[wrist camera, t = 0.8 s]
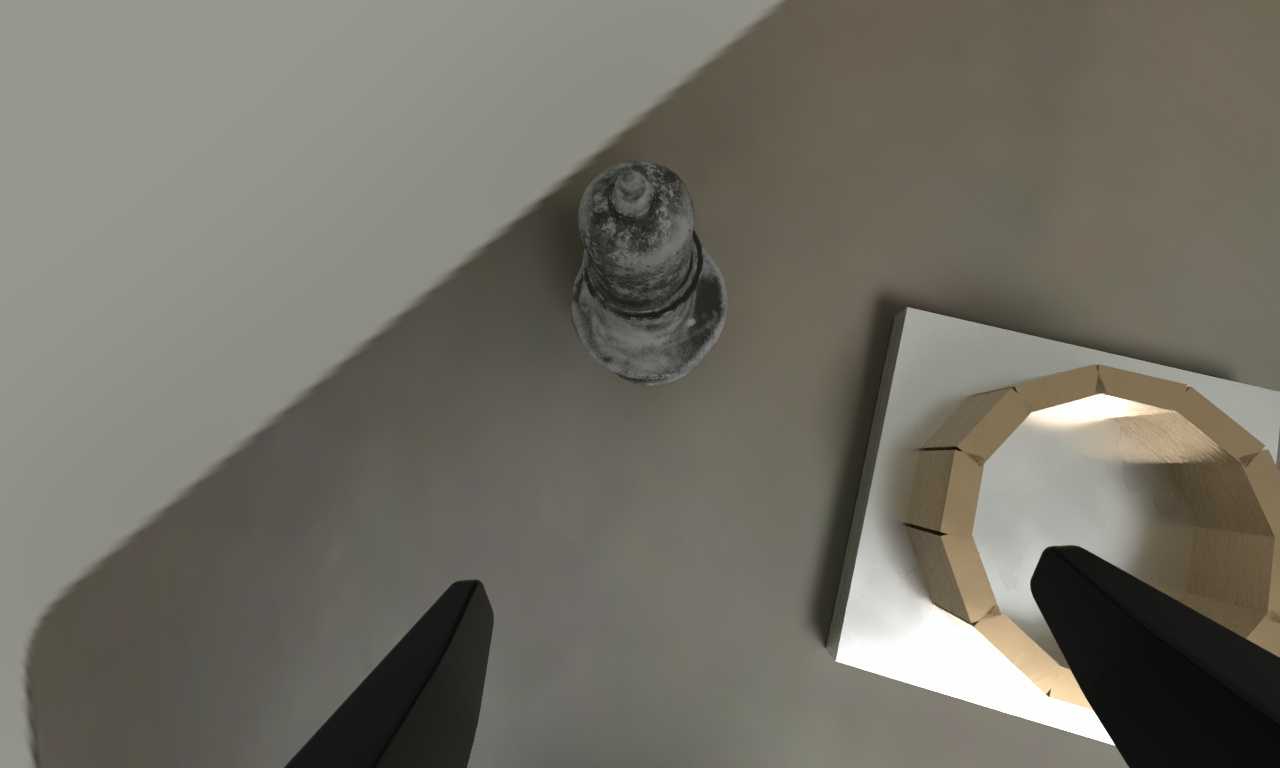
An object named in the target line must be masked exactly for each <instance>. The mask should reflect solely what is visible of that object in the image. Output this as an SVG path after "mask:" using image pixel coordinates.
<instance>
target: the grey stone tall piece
mask: <svg viewBox="0 0 1280 768" xmlns="http://www.w3.org/2000/svg"><path fill="white" fill-rule="evenodd" d="M694 217H695V215H694V208H693V202H692V199H691V196H690V194H689V192H688V190H687V188H686V185H685V184H684V182H683V181H682V180H681V179H680V178H679V177H678V175H677V174H676V173H674V172H673V171H671V170H670V169H668V168H667V167H665V166H663V165H660V164H657V163H655V162H652V161H642V160H633V161H627V162H621V163H619V164H616V165H614V166H612V167H609V168H607V169H606V170H604V171H603V172H602V173H600V174H599V175H598V176H596V177H595V178H594V180H593V181H592V182H591V183H590V184H589V186H588V187H587V188H586V190H585V192H584V194H583V196H582V199H581V201H580V206H579V212H578V228H579V235H580V237H581V240H582V242H583V245H584V247H585V249H584V255H583V261H582V266H581V268H580V270H579V273H578V275H577V277H576V279H575V281H574V284H573V290H572V296H571V302H570V304H571V313H572V323H573V325H574V328H575V330H576V333H577V335H578V338H579V340H580V342H581V343H582V345H583V346H584V347H585V348H586V350H587V351H588V352H589V354H590V355H591V356H592V358H594V359H595V360H596V361H598V362H599V363H600V364H602V365H603V366H604V367H605V368H607V369H608V370H610V371H613V372H615V373H616V374H617V375H619V376H620V377H621V378H623V379H626V380H628V381H631V382H633V383H636V384H642V385H650V386H654V385H661V384H668V383H670V382H673V381H675V380H678V379H680V378H682V377H684V376H685V375H686V374H688V373H689V372H690V371H692V370H693V369H694V368H695V367H696V366H697V365H698V363H699V362H700V361H701V359H703V358H704V357H705V356H706V355H707V353H708V352H709V351H710V350H711V348H712V347H713V346H714V344H715V343H716V342H717V341H718V338H719V336H720V333H721V331H722V328H723V326H724V323H725V321H726V313H727V304H728V298H727V292H726V286H725V280H724V278H723V276H722V274H721V272H720V270H719V267H718V265H717V263H716V262H715V261H714V259H713V258H712V257H711V256H710V255H709V254H708V252H707V251H706V250H705V249H704V248H703V247H702V246H701V243H700V241H699V239H698V237H697V235H696V232H695V231H694V230H693V227H694Z"/></svg>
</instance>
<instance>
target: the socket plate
mask: <svg viewBox="0 0 1280 768" xmlns="http://www.w3.org/2000/svg"><path fill="white" fill-rule="evenodd" d="M1279 430H1280V392H1278V391H1273V390H1269V389H1264V388H1260V387H1256V386H1251V385H1247V384H1243V383H1238V382H1234V381H1229V380H1225V379H1221V378H1216V377H1212V376H1207V375H1203V374H1199V373H1194V372H1190V371H1185V370H1181V369H1177V368H1172V367H1168V366H1164V365H1159V364H1155V363H1150V362H1146V361H1142V360H1137V359H1133V358H1128V357H1124V356H1120V355H1115V354H1111V353H1106V352H1102V351H1098V350H1093V349H1089V348H1085V347H1080V346H1076V345H1071V344H1067V343H1063V342H1058V341H1054V340H1049V339H1045V338H1041V337H1036V336H1032V335H1028V334H1023V333H1019V332H1014V331H1010V330H1006V329H1001V328H997V327H992V326H988V325H984V324H979V323H975V322H970V321H966V320H962V319H957V318H953V317H949V316H944V315H940V314H935V313H931V312H927V311H922V310H918V309H913V308H909V307H907V308H905V309H904V310H902V311H901V312H899V313H898V314H896V315H894V320H893V325H892V330H891V335H890V340H889V345H888V349H887V354H886V359H885V364H884V369H883V374H882V379H881V383H880V388H879V393H878V398H877V403H876V408H875V413H874V417H873V422H872V427H871V432H870V437H869V442H868V447H867V451H866V456H865V461H864V466H863V471H862V476H861V480H860V485H859V490H858V495H857V500H856V505H855V510H854V514H853V519H852V524H851V529H850V534H849V539H848V544H847V548H846V553H845V558H844V563H843V568H842V573H841V578H840V582H839V587H838V592H837V597H836V602H835V607H834V612H833V616H832V621H831V626H830V631H829V636H828V641H827V646H826V650H827V651H828V652H829V654H830V655H831V656H832V657H833V659H834V660H835V661H837V662H840V663H843V664H847V665H850V666H853V667H857V668H860V669H863V670H867V671H870V672H873V673H877V674H880V675H883V676H887V677H890V678H893V679H896V680H900V681H903V682H906V683H910V684H913V685H916V686H920V687H923V688H926V689H930V690H933V691H936V692H940V693H943V694H946V695H950V696H953V697H956V698H960V699H963V700H966V701H970V702H973V703H976V704H980V705H983V706H986V707H990V708H993V709H996V710H1000V711H1003V712H1006V713H1009V714H1013V715H1016V716H1019V717H1023V718H1026V719H1029V720H1033V721H1036V722H1039V723H1043V724H1046V725H1049V726H1053V727H1056V728H1059V729H1063V730H1066V731H1069V732H1073V733H1076V734H1079V735H1083V736H1086V737H1089V738H1093V739H1096V740H1099V741H1103V742H1106V743H1109V744H1113V745H1115V744H1114V743H1113V741H1112V739H1111V738H1110V736H1109V735H1108V733H1107V732H1106V730H1105V728H1104V727H1103V725H1102V724H1101V722H1100V721H1099V719H1098V717H1097V716H1096V714H1095V713H1094V711H1093V709H1092V708H1091V706H1090V704H1089V703H1088V701H1087V699H1086V698H1085V696H1084V694H1083V692H1082V690H1081V689H1080V687H1079V685H1078V683H1077V681H1076V680H1075V678H1074V676H1073V674H1072V672H1071V670H1070V668H1069V666H1068V664H1067V662H1066V660H1065V658H1064V656H1063V654H1062V652H1061V650H1060V648H1059V647H1058V645H1057V643H1056V641H1055V639H1054V637H1053V635H1052V633H1051V631H1050V629H1049V627H1048V625H1047V623H1046V621H1045V619H1044V617H1043V616H1042V614H1041V612H1040V610H1039V608H1038V606H1037V604H1036V602H1035V600H1034V598H1033V596H1032V593H1031V588H1030V580H1031V577H1032V575H1033V573H1034V570H1035V568H1036V566H1037V563H1038V561H1039V559H1040V556H1041V554H1042V552H1043V550H1044V549H1046V548H1047V547H1049V546H1060V545H1075V546H1079V547H1082V548H1084V549H1086V550H1088V551H1089V552H1091V553H1093V554H1095V555H1097V556H1098V557H1100V558H1102V559H1104V560H1106V561H1107V562H1109V563H1111V564H1113V565H1115V566H1116V567H1118V568H1120V569H1122V570H1124V571H1125V572H1127V573H1129V574H1131V575H1133V576H1134V577H1136V578H1138V579H1140V580H1142V581H1143V582H1145V583H1147V584H1149V585H1151V586H1152V587H1154V588H1156V589H1158V590H1160V591H1161V592H1163V593H1165V594H1167V595H1169V596H1170V597H1172V598H1174V599H1176V600H1177V601H1179V602H1181V603H1183V604H1185V605H1186V606H1188V607H1190V608H1192V609H1194V610H1195V611H1197V612H1199V613H1201V614H1203V615H1204V616H1206V617H1208V618H1210V619H1212V620H1213V621H1215V622H1217V623H1219V624H1221V625H1222V626H1224V627H1226V628H1228V629H1230V630H1231V631H1233V632H1235V633H1237V634H1239V635H1240V636H1242V637H1244V638H1246V639H1248V640H1249V641H1251V642H1253V643H1255V644H1257V645H1258V646H1260V647H1262V648H1264V649H1266V650H1267V651H1269V652H1271V653H1273V654H1275V655H1276V656H1278V657H1280V473H1279V471H1278V468H1277V466H1276V460H1277V450H1278V440H1279Z"/></svg>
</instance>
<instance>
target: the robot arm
mask: <svg viewBox="0 0 1280 768" xmlns="http://www.w3.org/2000/svg"><path fill="white" fill-rule="evenodd" d="M1030 588H1031V593H1032V596H1033V598H1034V600H1035V602H1036V604H1037V606H1038V608H1039V610H1040V612H1041V614H1042V616H1043V617H1044V619H1045V621H1046V623H1047V625H1048V627H1049V629H1050V631H1051V633H1052V635H1053V637H1054V639H1055V641H1056V643H1057V645H1058V647H1059V648H1060V650H1061V652H1062V654H1063V656H1064V658H1065V660H1066V662H1067V664H1068V666H1069V668H1070V670H1071V672H1072V674H1073V676H1074V678H1075V680H1076V681H1077V683H1078V685H1079V687H1080V689H1081V690H1082V692H1083V694H1084V696H1085V698H1086V699H1087V701H1088V703H1089V704H1090V706H1091V708H1092V709H1093V711H1094V713H1095V714H1096V716H1097V717H1098V719H1099V721H1100V722H1101V724H1102V725H1103V727H1104V728H1105V730H1106V732H1107V733H1108V735H1109V736H1110V738H1111V739H1112V741H1113V743H1114V744H1115V746H1116V747H1117V749H1118V751H1119V752H1120V754H1121V755H1122V757H1123V758H1124V760H1125V762H1126V763H1127V765H1128V766H1129V768H1280V657H1278V656H1276V655H1275V654H1273V653H1271V652H1269V651H1267V650H1266V649H1264V648H1262V647H1260V646H1258V645H1257V644H1255V643H1253V642H1251V641H1249V640H1248V639H1246V638H1244V637H1242V636H1240V635H1239V634H1237V633H1235V632H1233V631H1231V630H1230V629H1228V628H1226V627H1224V626H1222V625H1221V624H1219V623H1217V622H1215V621H1213V620H1212V619H1210V618H1208V617H1206V616H1204V615H1203V614H1201V613H1199V612H1197V611H1195V610H1194V609H1192V608H1190V607H1188V606H1186V605H1185V604H1183V603H1181V602H1179V601H1177V600H1176V599H1174V598H1172V597H1170V596H1169V595H1167V594H1165V593H1163V592H1161V591H1160V590H1158V589H1156V588H1154V587H1152V586H1151V585H1149V584H1147V583H1145V582H1143V581H1142V580H1140V579H1138V578H1136V577H1134V576H1133V575H1131V574H1129V573H1127V572H1125V571H1124V570H1122V569H1120V568H1118V567H1116V566H1115V565H1113V564H1111V563H1109V562H1107V561H1106V560H1104V559H1102V558H1100V557H1098V556H1097V555H1095V554H1093V553H1091V552H1089V551H1088V550H1086V549H1084V548H1082V547H1079V546H1075V545H1060V546H1049V547H1047V548H1046V549H1044V550H1043V552H1042V554H1041V556H1040V559H1039V561H1038V563H1037V566H1036V568H1035V570H1034V573H1033V575H1032V577H1031V580H1030ZM493 621H494V617H493V610H492V607H491V605H490V602H489V599H488V596H487V594H486V591H485V588H484V586H483V584H482V582H481V581H479V580H462V581H457V582H455V583H453V584H452V585H451V586H450V587H449V588H448V589H447V590H446V591H445V592H444V594H443V595H442V596H441V597H440V598H439V599H438V600H437V601H436V602H435V603H434V604H433V606H432V607H431V608H430V609H429V610H428V611H427V612H426V613H425V614H424V615H423V616H422V618H421V619H420V620H419V621H418V622H417V623H416V624H415V625H414V626H413V627H412V628H411V630H410V631H409V632H408V633H407V634H406V635H405V636H404V637H403V638H402V639H401V640H400V642H399V643H398V644H397V645H396V646H395V647H394V648H393V649H392V650H391V651H390V653H389V654H388V655H387V656H386V657H385V658H384V659H383V660H382V661H381V662H380V663H379V665H378V666H377V667H376V668H375V669H374V670H373V671H372V672H371V673H370V674H369V675H368V677H367V678H366V679H365V680H364V681H363V682H362V683H361V684H360V685H359V686H358V687H357V689H356V690H355V691H354V692H353V693H352V694H351V695H350V696H349V697H348V698H347V699H346V701H345V702H344V703H343V704H342V705H341V706H340V707H339V708H338V709H337V710H336V711H335V713H334V714H333V715H332V716H331V717H330V718H329V719H328V720H327V721H326V722H325V723H324V725H323V726H322V727H321V728H320V729H319V730H318V731H317V732H316V733H315V734H314V735H313V737H312V738H311V739H310V740H309V741H308V742H307V743H306V744H305V745H304V746H303V747H302V749H301V750H300V751H299V752H298V753H297V754H296V755H295V756H294V757H293V758H292V759H291V761H290V762H289V763H288V764H287V765H286V766H285V767H284V768H467V765H468V761H469V757H470V753H471V749H472V745H473V742H474V737H475V733H476V729H477V724H478V719H479V713H480V708H481V701H482V695H483V688H484V682H485V675H486V669H487V663H488V656H489V650H490V643H491V637H492V630H493Z"/></svg>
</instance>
